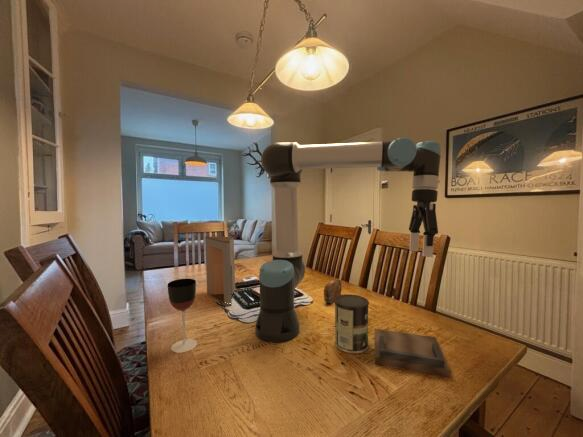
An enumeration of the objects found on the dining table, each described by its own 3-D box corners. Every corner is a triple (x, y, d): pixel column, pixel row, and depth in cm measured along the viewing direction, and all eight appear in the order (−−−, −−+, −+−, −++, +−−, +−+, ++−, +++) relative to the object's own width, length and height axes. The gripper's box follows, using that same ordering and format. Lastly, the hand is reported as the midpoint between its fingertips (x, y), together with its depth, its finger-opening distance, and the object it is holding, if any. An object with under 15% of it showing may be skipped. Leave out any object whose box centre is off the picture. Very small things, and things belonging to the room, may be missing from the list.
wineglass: (171, 356, 74) (168, 289, 73) (169, 342, 82) (167, 280, 81) (199, 349, 78) (197, 284, 77) (196, 335, 86) (193, 277, 84)
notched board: (374, 363, 70) (374, 349, 70) (374, 334, 85) (374, 322, 85) (449, 377, 65) (450, 361, 64) (435, 343, 80) (435, 330, 80)
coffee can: (366, 337, 84) (367, 295, 83) (369, 355, 74) (370, 308, 73) (334, 334, 86) (335, 293, 85) (333, 351, 76) (333, 305, 75)
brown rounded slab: (329, 306, 108) (329, 287, 108) (322, 305, 110) (322, 285, 109) (342, 295, 121) (342, 277, 121) (335, 293, 123) (335, 276, 122)
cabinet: (207, 293, 124) (205, 236, 122) (225, 289, 131) (223, 234, 129) (228, 306, 109) (226, 241, 107) (247, 300, 115) (246, 239, 113)
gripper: (454, 185, 72) (448, 260, 72) (423, 193, 96) (419, 249, 97) (426, 184, 73) (420, 258, 73) (402, 192, 98) (398, 248, 98)
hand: (419, 253), depth 85 cm, fingers open, 13 cm apart
